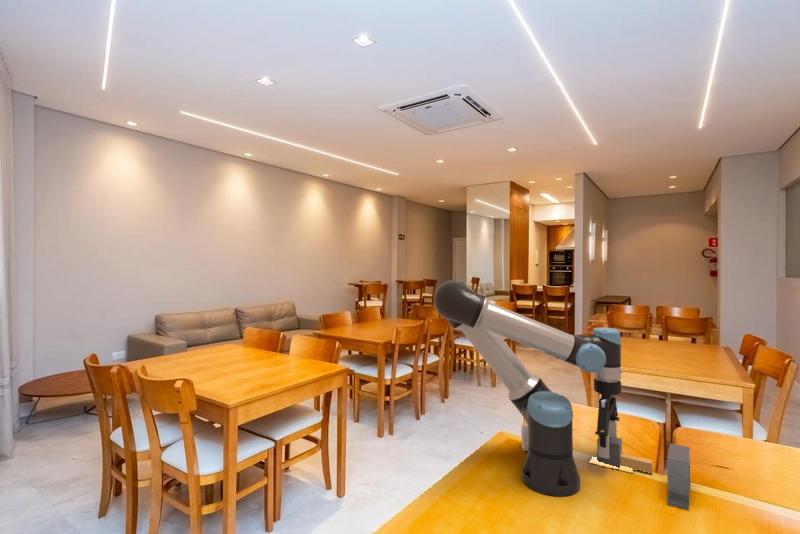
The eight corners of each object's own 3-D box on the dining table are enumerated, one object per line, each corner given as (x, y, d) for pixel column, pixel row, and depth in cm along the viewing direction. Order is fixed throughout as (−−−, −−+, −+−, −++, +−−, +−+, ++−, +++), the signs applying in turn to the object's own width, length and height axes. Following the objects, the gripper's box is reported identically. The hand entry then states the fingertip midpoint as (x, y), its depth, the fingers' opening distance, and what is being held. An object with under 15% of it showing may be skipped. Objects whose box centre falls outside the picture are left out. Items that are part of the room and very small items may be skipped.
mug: (556, 457, 131) (556, 432, 131) (523, 454, 133) (523, 429, 133) (550, 441, 142) (550, 418, 142) (520, 439, 144) (520, 416, 144)
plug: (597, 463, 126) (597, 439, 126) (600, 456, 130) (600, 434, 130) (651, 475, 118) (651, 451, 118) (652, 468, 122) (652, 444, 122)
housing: (667, 504, 104) (666, 462, 104) (671, 476, 118) (670, 439, 118) (688, 510, 101) (688, 467, 101) (690, 481, 115) (690, 443, 115)
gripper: (613, 391, 114) (614, 468, 114) (627, 372, 134) (627, 438, 134) (584, 386, 119) (585, 461, 119) (601, 369, 139) (602, 433, 139)
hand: (608, 449), depth 126 cm, fingers open, 13 cm apart
